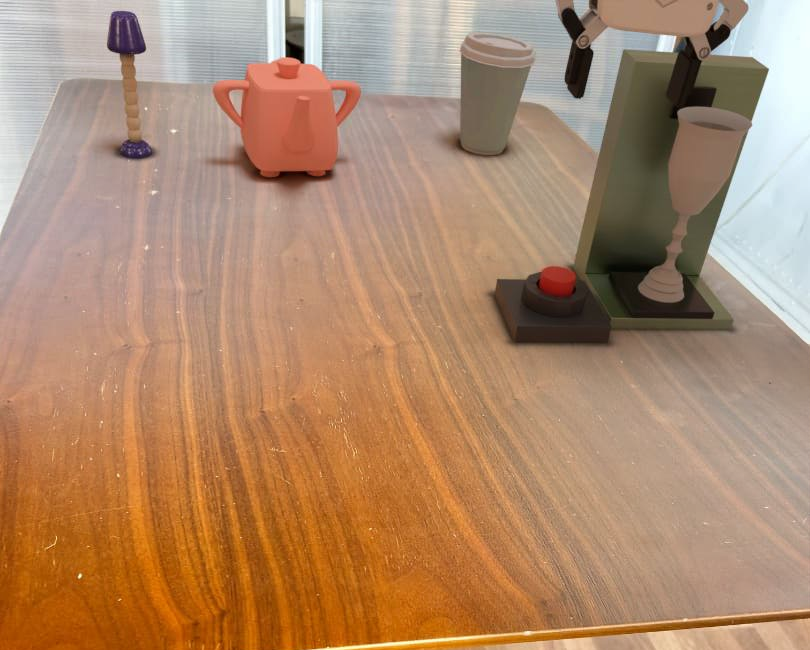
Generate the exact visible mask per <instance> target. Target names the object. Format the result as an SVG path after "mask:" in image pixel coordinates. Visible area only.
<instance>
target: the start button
mask: <svg viewBox="0 0 810 650" xmlns="http://www.w3.org/2000/svg"><path fill="white" fill-rule="evenodd" d="M540 272H541V277H540V282H539V289H540V290H541V291H543V292H545V293H547V294H551V295H554V296H568V295H571V294H572V293H573V289H574V285H575V281H576V279H577V274H576V272H575V271H573V270H571V269H570V268H568V267H567V268H566V267H563V266H560V265H559V266H558V265H552V266H551V265H550V266H546V267H544V268H543V269H542V270H541V271H540Z"/></svg>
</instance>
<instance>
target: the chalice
mask: <svg viewBox="0 0 810 650" xmlns="http://www.w3.org/2000/svg"><path fill="white" fill-rule="evenodd" d="M677 113H678V120H679V128H678V131H677V135H676V138H675V142H674V145H673V149H672V152H671V156H670V159H669V163H668V173H669V189H670V195H671V200H672V206H673V209H674V210H675V211H676V212H678V213H679V221H678V222H677V224H676V226H675V228H674V229H672V234H673V240H672V242H671V243H670V245H668V246H666V250H667V259H666V261H665V263H664V264H662V265H661V266H656V267H654V268H653V269H652V270H650V271H649V274H648V275H647V276H645V278H644V280H643V281H642V282H641V283H640V284H639V285H638V290H639V291H640V293H642V294H643V295H644V296H646V297H648V298H650V299H652V300H656V301H660V302H669V303H673V302H678V301H680V300H682V299H683V298H684V292H683V283H682V281H683V278H682V276H681V274H680V272H679V271H678V270H676V267H675V259H676V258H677V256H678V254H679V253H681V252H682V251H683V250H682V248H681V241H682V239H683V237H684V236H685V235H687V231H686V227H687V221H688V219H689V217H690V216H691V215H697V214H699V213H700V212H701V211H702V210H703V209H704V208H705V206H706V205H707V204H708V203H709V202H710V201H711V200H712V199H713V197H714V196H715V195H716V194H717V193H718V192H719V190H720V189H721V187H722V186H723V185H724V183H725V182H726V180H727V179H728V177H729V176H730V173H731V170H732V167H733V165H734V162H735V159H736V156H737V153H738V150H739V147H740V144H741V141H742V138H743V136H744V135H745V133H746V132H747V131H748V130H749V131H750V129H751V128H752V127H753V122H751V121H750V120H749V119H747V118H746V117H744V116H742V115H740V114H737V113H734V112H731V111H727V110H722V109H718V108H710V107H686V108H682V109H680V110H679V111H678V112H677ZM749 131H748V132H749Z"/></svg>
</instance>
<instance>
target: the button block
mask: <svg viewBox="0 0 810 650" xmlns="http://www.w3.org/2000/svg"><path fill="white" fill-rule="evenodd" d="M541 272H542V271H538V272H534V273H532V274H529V275H528V276H527V277H526V278H525V279H524V278H523V279H521V278H520V279H518V278H497V279H496V282H495V290H494V297H495V300H496V302H497V305H498V307H499V310H500V312H501V314H502V317H503V320H504V321H505V324H506V326H507V329H508V331H509V333H510V335H511V338H512V340H513V342H514V343H522V344H524V343H527V344H528V343H529V344H531V343H533V344H535V343H537V344H541V343H542V344H608V341H609V338H610V336H611V332H612V329H613V328H612V326H611V324H610V323H609V321H608V319H607V318H606V316H605V314H604V313H603V311H602V309H601V307H600V306H599V304H598V302H597V301H596V299H595V297H594V295H593V294H592V292H591V290H590V289H589V287H588V285H587V284H586V282H585V281H584V280H580V279H579V278H576V281H575V285H574V289H573V293H572V294H571V295H568V296H554V295H551V294H547V293H545V292H543V291H541V290H540V289H539V282H540V277H541Z"/></svg>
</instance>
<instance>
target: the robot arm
mask: <svg viewBox="0 0 810 650" xmlns="http://www.w3.org/2000/svg"><path fill="white" fill-rule="evenodd" d="M554 1H555V5H556V10H557V16H558V19H559V20H560V22H561V24H562V25H563V27H564V29H565V31H566V32H567V34H568V37H569V38H570V39H571V41H572V42H571V45H570V50H569V55H568V58H567V64H566V68H565V72H564V83H565V84H566V88H567V91H568V92H569V93H570V94H571V96H572V97H573V98H574V99H579V100H581V99H582V98H584V96H585V92H586V89H587V84H588V80H589V75H590V72H591V67H592V62H593V59H594V54H595V53H594V50H593V49H592V48H591V46H592V43H593V42H594V41H595V40H596V39H597V38H598V37H599V36H601V35H602V33H604V32H605V30H607V29H608V28H610V29H613V30H617V31H623V32H630V33H631V32H632V33H642V34H650V35H651V34H652V35H659V36H660V35H662V36H670V37H672V36H673V37H682V40H683V42H684V44H685V47H684V49H680V51H679V52H677V53H678V55H677V59H676V62H675V65H674V69H673V72H672V76H671V79H670V82H669V86H668V89H667V92H666V96H667V98H668V99H669V100H670V101H671V102H672V103H673V104H674V105H675V106H676V107H680V108H683V107H684V106H685V103H686V99H687V96H688V95H691V93H692V91H693V88H694V85H695V82H696V78H697V75H698V72H699V69H700V66H701V63H702V60H706V59H707V58H708V57H709V56H710V55H711V53H712V52H713V51H714V50H716V49H717V48H718V47H720V46H721V45H722V44H723V43H724V42H726V41H727V40H728V39H729V37H730V36H731V32H732V31H733V30H734V29H735V28H736V27H737V26H738V24H740V22H741V21H742V20H743V18H744V17H745V16H746V15H747V13H748V12H749V5H748V3H747V2H746V1H745V0H588V8H589V9H587V11H586V12H585V13H584V14H583V15H581V17H579V15H578V14H577V13H576V9H575V3H574V0H554ZM719 3H720V5H722V7H723V12H722V13H721V15H719V19H718V20H716V21H715V22H713V21H714V19H715V16H716V13H717V10H718V6H719Z"/></svg>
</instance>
